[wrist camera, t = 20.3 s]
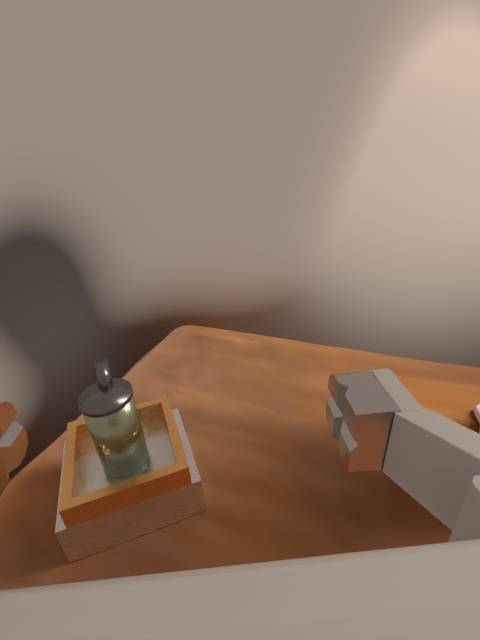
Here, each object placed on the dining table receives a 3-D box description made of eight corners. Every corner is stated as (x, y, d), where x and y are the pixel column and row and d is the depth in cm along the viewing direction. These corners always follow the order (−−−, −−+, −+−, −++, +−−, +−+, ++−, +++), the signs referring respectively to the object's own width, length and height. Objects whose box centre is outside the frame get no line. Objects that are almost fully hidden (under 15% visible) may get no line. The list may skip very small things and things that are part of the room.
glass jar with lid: (146, 426, 43) (124, 347, 37) (152, 469, 37) (127, 383, 31) (102, 439, 41) (73, 359, 36) (102, 486, 35) (67, 399, 30)
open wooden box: (177, 421, 50) (170, 380, 47) (205, 510, 38) (198, 463, 34) (76, 451, 46) (60, 409, 43) (69, 563, 34) (46, 516, 30)
